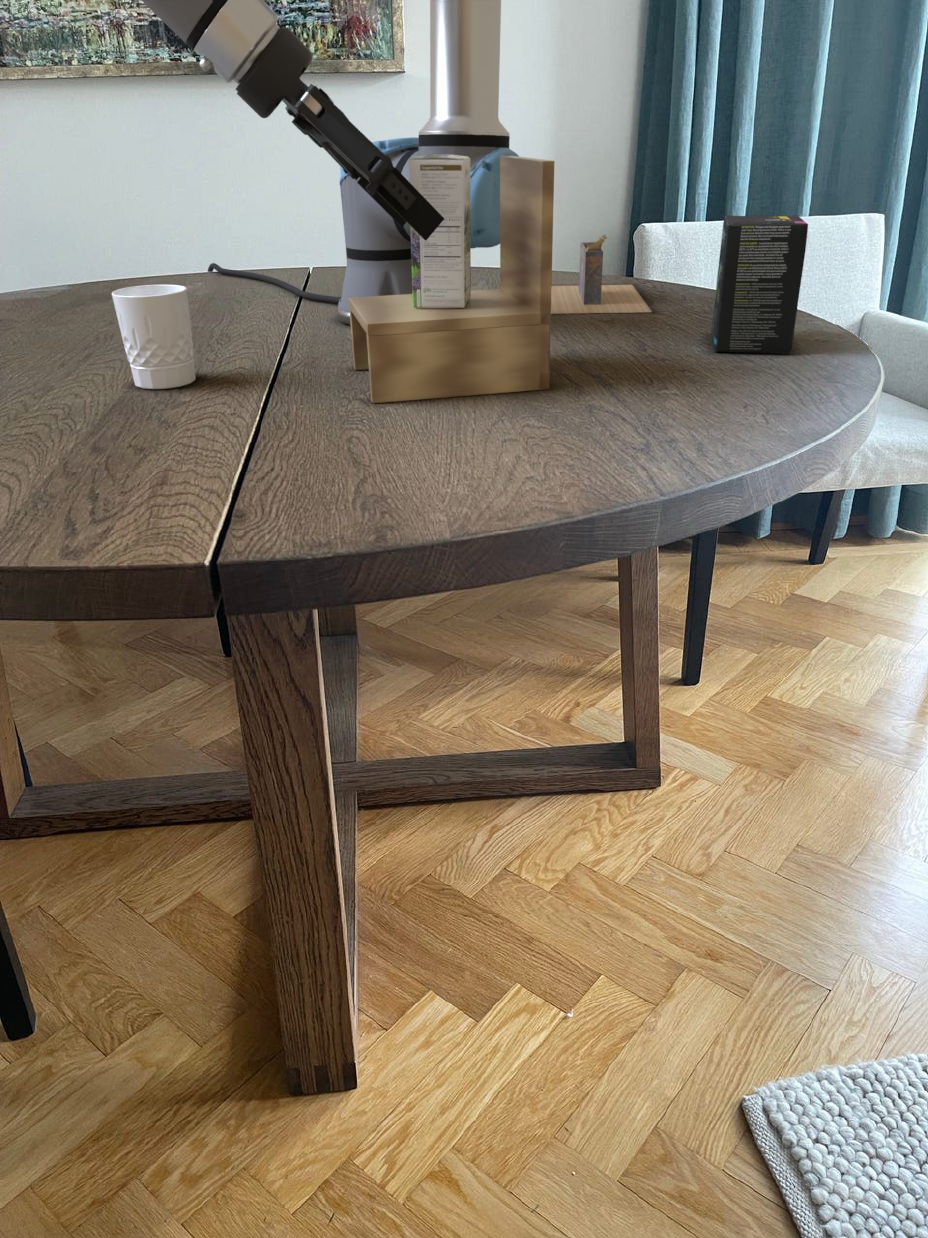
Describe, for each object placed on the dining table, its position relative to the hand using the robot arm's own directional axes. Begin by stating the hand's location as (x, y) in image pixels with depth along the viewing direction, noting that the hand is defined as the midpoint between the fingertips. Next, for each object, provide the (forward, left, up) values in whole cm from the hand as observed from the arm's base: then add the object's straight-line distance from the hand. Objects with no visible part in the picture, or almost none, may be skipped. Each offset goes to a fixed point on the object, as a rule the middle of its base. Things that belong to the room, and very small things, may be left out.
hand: (421, 223), depth 96 cm
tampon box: (+21, +37, -16) cm, 46 cm away
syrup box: (+1, +2, -8) cm, 9 cm away
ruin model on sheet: (-14, +54, -16) cm, 58 cm away
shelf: (+1, +2, -16) cm, 16 cm away
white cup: (-24, -18, -16) cm, 34 cm away
